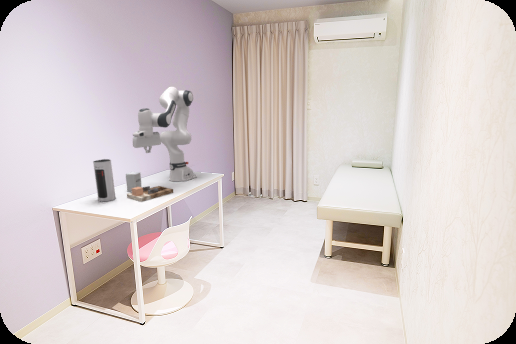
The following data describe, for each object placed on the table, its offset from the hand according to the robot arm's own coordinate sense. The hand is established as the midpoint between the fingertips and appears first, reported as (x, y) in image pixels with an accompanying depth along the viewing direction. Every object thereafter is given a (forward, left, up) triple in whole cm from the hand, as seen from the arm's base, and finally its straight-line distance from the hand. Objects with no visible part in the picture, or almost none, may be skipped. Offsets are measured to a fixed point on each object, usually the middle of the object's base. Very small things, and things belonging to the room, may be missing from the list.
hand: (148, 152), depth 225 cm
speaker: (+30, -5, -27) cm, 41 cm away
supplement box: (+7, -10, -27) cm, 30 cm away
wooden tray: (+8, +10, -27) cm, 30 cm away
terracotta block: (+17, +10, -24) cm, 31 cm away
